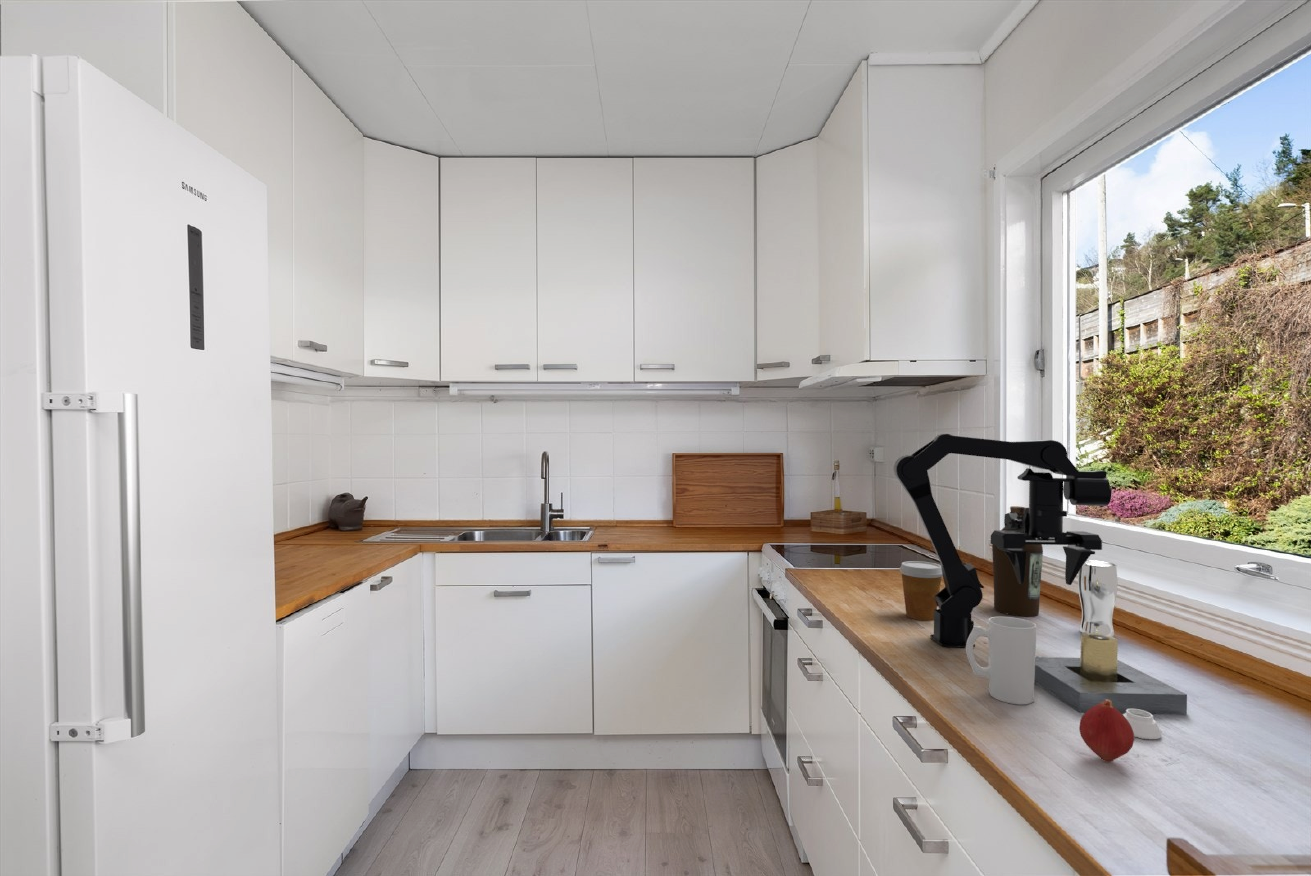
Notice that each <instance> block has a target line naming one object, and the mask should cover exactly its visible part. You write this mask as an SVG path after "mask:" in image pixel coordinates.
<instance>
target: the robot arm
mask: <svg viewBox="0 0 1311 876" xmlns="http://www.w3.org/2000/svg"><path fill="white" fill-rule="evenodd" d="M949 454H957V455H962V456H972V457H973V456H974V457H981V458H991V459H1000V460H1001V459H1002V460H1008V461H1012V462H1015V463H1019V464H1021V465H1025V466H1029V467H1032V468H1035V469H1036V468H1037V469H1040V470H1048V471H1050V472H1039V471H1038V472H1036V471H1035V472H1034V470H1032V468H1028V467H1027V468H1026V469H1025V470H1024V471H1023V472H1022V473H1020V474H1019V475H1018V476H1017V479H1018V480H1020V481H1025V482H1027V481H1028V482H1029V483H1028V484H1029V485H1028V486H1029V487H1028V491H1029V492H1028V507H1025V513H1024V516H1018V515H1017V513H1010V512H1008V513H1005V514H1004V523H1003V524H1004V527H1005V528H1006V529H1007V530H1014V531H1007V530H1002V529H1000V530H997V529H996V530H993V531H992V533H991V535H990V544H991V545H992V544H993V545H996V546H997V547H998V549H1001V550H1004V552H1005V553H1006V554H1007V556H1008V558H1009V560H1010V562H1011V564H1012V567H1013V569H1014V572H1015V575H1016V577H1017V580H1018V583H1019V584H1023V583H1024V578H1025V568H1026V555H1027V551H1025V550H1022V548H1023V547H1024V546H1025V545H1026V544H1037V545H1042V546H1043V545H1047V546H1050V545H1051V546H1053V545H1054V546H1058V545H1059V546H1062V549H1063V552H1064V555H1065V574H1064V575H1065V584H1066V585H1068V586H1071V585H1072V584H1073V583H1074V581H1075V579H1076V578H1077V575H1078V573H1079V570H1080V569H1081V567H1082V566H1083V564H1084V563H1085V562H1086V560H1089V558H1090V557H1091V555H1096V551H1101V550H1103V539H1102V538H1101V537H1100V535H1099V534H1096V533H1091V532H1087V531H1079V530H1078V531H1077V530H1076V531H1074V530H1070V531H1069V530H1068V531H1066V532H1065V531H1063V529H1064V527H1063V523H1064V522H1063V517H1065V518H1066V517H1068V511H1067V510H1064V500H1068V501H1069V503H1070V504H1071V505H1072V506H1087V507H1089V506H1091V507H1095V506H1096V507H1108V506H1109V505H1110V503H1111V499H1112V494H1113V493H1112V491H1113V490H1112V488H1111V483H1110V481H1109V479H1108V477H1107V471H1106V470H1097V469H1096V470H1090V471H1088V470H1087V471H1086V470H1078V469H1077V467H1076V466H1075V465H1074V463H1073V462H1072V461H1071V460H1070V459H1069V458H1068V451H1067V448H1066V447H1065V445H1063V443H1061V442H1060V441H1057V440H1053V439H1052V440H1051V439H1038V440H1037V439H1036V440H1035V439H1034V440H1020V441H1018V440H1017V441H1005V440H997V439H989V438H978V437H968V436H959V435H953V434H951V433H950V434H949V433H941V434H937V435H936V436H935V437H934V439H932V440H931V441H929V442H928V443H926V444H925V445H924V446H922V447H920V448H919V449H917V450H916V451H914V452H913V453H912V454H906V455H902V456H900V457H898V459H897V460H895V462H894V465H893V473H894V476H895V477H896V478H897V480H898V481H899V483H900V485H901V486H902V487H903V488H904V491H906V493H907V495H908V496H909V497H910V499H911V500H912V502H913V504H914V507H915V509H916V511H917V513H918V515H919V518H920V520H921V522H922V525H923V526H924V529H925V530H926V534H927V536H928V537H929V539H930V543H931V544H932V547H933V549H934V552H935V554H936V555H937V558H938V560H939V562H940V565H941V569H942V575H943V576H942V579H943V584H944V587H943V588H942V589H941V590H940V591H939V593H937V594H936V595H935V596H934V598H935V601H936V604H937V609H934V620H933V634H930V639H932V640H933V641H935V642H936V643H937V644H938V645H940V646H942V647H946V648H948V647H949V648H955V647H956V648H966V643H967V639H968V637H969V635H970V633H971V632H972V630H973V626H974V625H975V622H974V620H973V619H972V612H973V610H974V608H975V607H977V606H979V605H980V604H981V602H982V599H984V598H983V591H982V589H984V588H985V587H984V585H983V584H982V583H981V581H980V580H979V577H978V573H977V569H976V567H975V566H974V565H972V564H971V563H970V562H967V563H965V564H964V563H963V561H962V559H961V557H960V556H959V553H958V551H957V548H956V546H955V544H954V541H953V540H952V537H951V535H950V533H949V531H948V528H947V526H946V523H945V521H944V519H943V517H942V515H941V512H940V510H939V508H938V506H937V504H936V503H937V502H936V501H935V499H934V497H933V493H932V487H931V486H932V485H931V481H930V476H929V473H928V472H929V470H930V469H932V468H933V467H934V466H936V465H937V463H939V462H941V460H942V459H943V458H945V457H946V456H948V455H949ZM1052 473H1053V474H1055V475H1056V474H1057V475H1062V476H1066V477H1054V476H1053V474H1052ZM975 647H976V644H975V643H974V645H973V648H975Z"/></svg>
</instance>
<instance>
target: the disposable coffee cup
mask: <svg viewBox="0 0 1311 876" xmlns="http://www.w3.org/2000/svg"><path fill="white" fill-rule="evenodd" d="M899 571H900V573H901V579H902V588H903V597H904V605H905V607H904V608H905V614H906V615H905V616H906V617H908V618H910V619H914V620H919V621H934V609H938V606H937V604H936V601H935V598H934V596H935V595H936V594H937V593H939V592H940V591H941V590H940V589H941V584H942V583H941V582H942V579H943V575H942V569H941V564H938V563H934V562H928V561H921V560H920V561H919V560H918V561H916V560H913V561H911V560H910V561H909V560H908V561H903V562H901V566H900V567H899Z"/></svg>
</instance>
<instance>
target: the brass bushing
mask: <svg viewBox="0 0 1311 876" xmlns="http://www.w3.org/2000/svg"><path fill="white" fill-rule="evenodd" d="M1118 641H1119V640H1118V639H1117V638H1115V637H1110V636H1107V635H1102V634H1095V633H1081V634H1080V657H1079V658H1080V676H1082V677H1083V678H1085V679H1087V680H1088V681H1090V682H1117V660H1118V654H1119V653H1118V651H1119V649H1118V648H1119V647H1118V646H1119V642H1118Z"/></svg>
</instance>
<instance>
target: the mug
mask: <svg viewBox="0 0 1311 876" xmlns="http://www.w3.org/2000/svg"><path fill="white" fill-rule="evenodd" d="M980 637H985V638H987V639H988V666H986V667H985V666H980V665H979V663H978V662H977V660H976V659H975V654H974V647H973V645H974V644H975V642H976V641H977V640H978V639H979V638H980ZM1036 646H1037V624H1036V623H1035V622H1033V621H1031V620H1028V619H1023V618H1018V617H1013V616H993V617H989V618H988V628H983V627H982V626H979V625H975V624H974V626H973V630H972V632H971V633H970V635H969V637H968V639H967V643H966V647H965V652H966V656H967V661H968V663H969V664H970V665H969V666H970V667H971V670H972V672H973V674H974V676H976V677H983V678H986V679H988V692H989V695H990V696H991V697H992V698H994V699H996V700H998V701H1000V702H1004V703H1007V704H1012V705H1030V704H1032V703H1033V702H1034V697H1035V695H1034V694H1035V693H1034V691H1035V682H1034V680H1035V657H1036V652H1037V651H1036V650H1037V649H1036V648H1037V647H1036Z"/></svg>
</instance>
